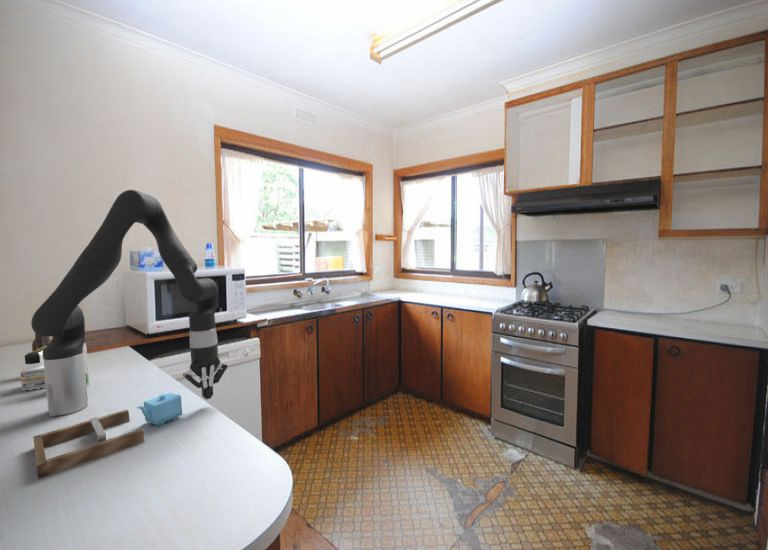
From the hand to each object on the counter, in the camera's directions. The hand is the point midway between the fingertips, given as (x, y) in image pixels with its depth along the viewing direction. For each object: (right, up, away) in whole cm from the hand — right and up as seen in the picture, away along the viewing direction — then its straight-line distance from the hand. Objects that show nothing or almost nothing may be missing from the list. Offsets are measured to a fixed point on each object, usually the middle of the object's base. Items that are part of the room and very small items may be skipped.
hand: (207, 398), depth 111 cm
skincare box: (-59, -3, +19) cm, 62 cm away
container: (-72, -3, +21) cm, 76 cm away
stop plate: (-19, -5, -19) cm, 27 cm away
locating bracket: (-20, -5, -20) cm, 29 cm away
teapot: (-9, -4, -9) cm, 13 cm away
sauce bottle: (-83, -2, +34) cm, 90 cm away
